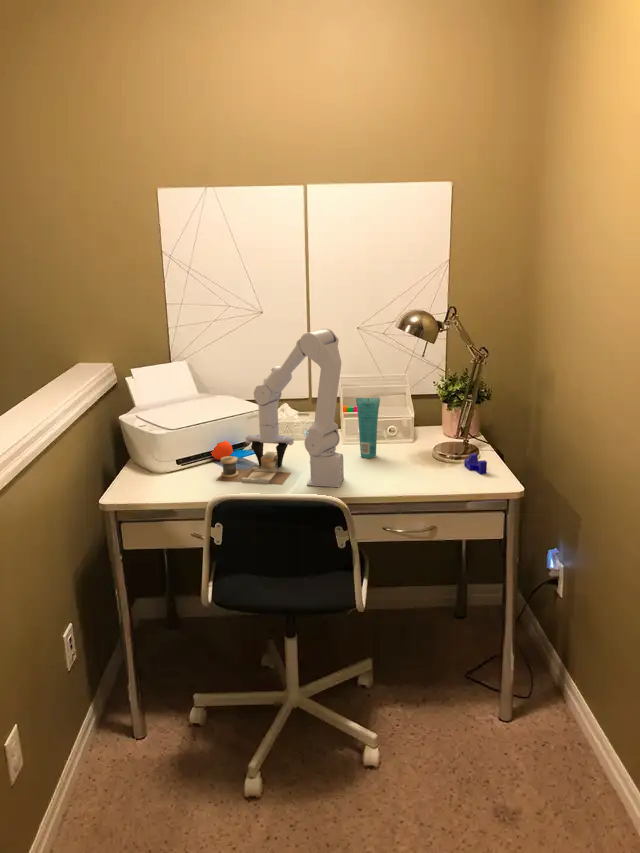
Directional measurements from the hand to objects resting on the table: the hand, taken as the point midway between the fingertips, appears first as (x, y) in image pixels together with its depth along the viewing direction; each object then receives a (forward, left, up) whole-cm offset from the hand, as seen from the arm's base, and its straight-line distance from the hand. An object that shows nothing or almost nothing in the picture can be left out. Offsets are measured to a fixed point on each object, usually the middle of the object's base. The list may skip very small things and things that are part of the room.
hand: (270, 465), depth 224 cm
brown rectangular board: (+2, +10, -1) cm, 10 cm away
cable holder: (-61, -11, -2) cm, 62 cm away
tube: (-27, -18, -2) cm, 32 cm away
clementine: (+18, -5, -2) cm, 19 cm away
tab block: (0, 0, -2) cm, 2 cm away
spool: (+10, +10, 0) cm, 14 cm away
